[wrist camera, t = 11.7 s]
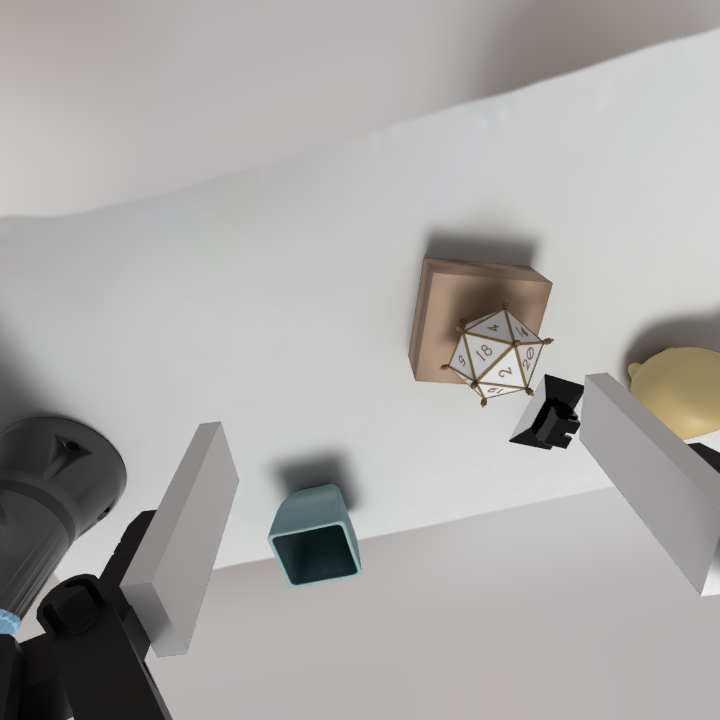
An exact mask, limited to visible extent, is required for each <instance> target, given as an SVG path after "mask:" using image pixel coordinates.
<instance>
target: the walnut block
mask: <svg viewBox="0 0 720 720" xmlns="http://www.w3.org/2000/svg"><path fill="white" fill-rule="evenodd" d="M552 284H553V283H552V282H550V281H549V280H548V279H546V278H545V277H543V276H542V275H541V274H539V273H538V272H536V271H535V270H534V269H532V268H531V267H525V266H513V265H502V264H490V263H479V262H467V261H456V260H445V259H433V258H424V259H423V266H422V272H421V278H420V285H419V291H418V298H417V304H416V310H415V317H414V323H413V330H412V336H411V343H410V349H409V355H408V357H409V360H410V364H411V367H412V371H413V374H414V378H415V381H424V382H438V383H453V384H467V383H466V382H465V381H463V380H462V379H461V378H460V377H459V376H458V375H457V374H456V373H454V372H453V371H452V370H451V369H450V368H448V369H447V370H446V369H445V370H442V369H439V368H440V367H441V366H442V364H443V365H445V364H449V361H450V359H451V357H452V354H453V352H454V349H455V347H456V344H457V342H458V339H459V337H460V334H461V333H460V334H459V332H457V329H456V327H459V326H461V327H462V328H463V327H464V325H462V324H461V323H460V318H461V319H465V320H466V322H467V323H468V322H471V321H473V320H475V319H478V318H480V317H483V316H485V315H488V314H490V313H493V312H495V311H498V310H500V309H502V308H503V303H502V302H504V301H505V300H506V299H508V303H509V304H508V307H507V310H508V311H509V312H510V313H511V314H513V315H514V316H515V317H516V318H517V319H518V320H519V321H521V322H522V323H523V324H524V325H525V326H526V327H527V328H529V329H530V330H531V331H532V332H533V333H534V334H535V335H537V336H538V333H539V330H540V326H541V323H542V319H543V316H544V312H545V309H546V305H547V302H548V298H549V295H550V291H551V288H552ZM467 385H468V384H467Z"/></svg>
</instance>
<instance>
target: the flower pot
mask: <svg viewBox="0 0 720 720" xmlns="http://www.w3.org/2000/svg"><path fill="white" fill-rule="evenodd" d="M268 542H269V544H270V546H271V548H272V550H273V552H274V554H275V556H276V559H277V561H278V563H279V565H280V567H281V569H282V572H283V574H284V576H285V578H286V581H287V583H288V584H289V586H290V587H291V588H296V587H303V586H308V585H312V584H318V583H322V582H327V581H333V580H338V579H344V578H349V577H355V576H358V575H361V574H362V570H361V563H360V557H359V551H358V544H357V539H356V535H355V532H354V529H353V526H352V523H351V521H350V518H349V515H348V512H347V509H346V506H345V503H344V500H343V497H342V494H341V492H340V490H339V488H338V487H337V486H336V485H334V484H326V485H322V486H317V487H313V488H308V489H303V490H298V491H296V492H295V493H293V494H292V495H290V496H289V497H288V498H286V499H285V501H284V502H283V503H282V504H281V506H280V507H279V509H278V511H277V514H276V516H275V519H274V522H273V524H272V527H271V530H270V533H269V535H268Z"/></svg>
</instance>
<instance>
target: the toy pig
mask: <svg viewBox="0 0 720 720" xmlns="http://www.w3.org/2000/svg"><path fill="white" fill-rule="evenodd" d="M628 372H629V375H630V377H631V379H632V382H631V386H630V392H629V393H630V394H632V395H633V396H634V397H635V398H636V399H637V400H638V401H639V402H640V403H642V404H643V405H644V406H645V407H646V408H647V409H648V410H649V411H650V412H652V413H653V414H654V415H655V416H656V417H657V418H658V419H659V420H660V421H661V422H663V423H664V424H665V425H666V426H667V427H668V428H669V429H670V430H671V431H673V432H674V433H675V434H676V435H677V436H678V437H679V438H680V439H681V440H686V439H691V438H695V437H698V436H702V435H705V434H708V433H711V432H714V431H717V430H720V353H718V352H715V351H712V350H708V349H704V348H698V347H680V348H675V347H668V348H666V349H665V350H664V351H663V352H660V353H658V354H656V355H654V356H652V357H651V358H649V359H648V360H647V361H646V362H645V363H643V364H639V363H636V362H635V363H632V364H630V365H629V367H628Z"/></svg>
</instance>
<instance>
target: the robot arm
mask: <svg viewBox="0 0 720 720" xmlns="http://www.w3.org/2000/svg"><path fill="white" fill-rule="evenodd" d="M579 439H580V441H581V442H582V443H583V445H584V446H585V447H586V448H587V450H588V451H589V452H590V454H591V455H592V456H593V458H594V459H595V460H596V461H597V463H598V464H599V465H600V467H601V468H602V469H603V470H604V472H605V473H606V474H607V476H608V477H609V478H610V479H611V481H612V482H613V483H614V485H615V486H616V487H617V489H618V490H619V491H620V492H621V494H622V495H623V496H624V498H625V499H626V500H627V501H628V503H629V504H630V505H631V507H632V508H633V509H634V510H635V512H636V513H637V514H638V516H639V517H640V518H641V519H642V521H643V522H644V523H645V525H646V526H647V527H648V528H649V530H650V531H651V532H652V534H653V535H654V536H655V538H656V539H657V540H658V541H659V543H660V544H661V545H662V547H663V548H664V549H665V551H666V552H667V553H668V554H669V556H670V557H671V558H672V560H673V561H674V562H675V563H676V565H677V566H678V567H679V569H680V570H681V571H682V573H683V574H684V575H685V576H686V578H687V579H688V580H689V581H690V583H691V584H692V585H693V587H694V588H695V589H696V591H697V592H698V593H699V594H700V596H708V595H717V594H720V453H719V452H717V451H715V450H713V449H711V448H709V447H707V446H705V445H703V444H701V443H692V444H686V443H685V442H684V441H683V440H681V439H680V438H679V437H678V436H677V435H676V434H675V433H674V432H673V431H671V430H670V429H669V428H668V427H667V426H666V425H665V424H664V423H663V422H661V421H660V420H659V419H658V418H657V417H656V416H655V415H654V414H653V413H652V412H650V411H649V410H648V409H647V408H646V407H645V406H644V405H643V404H642V403H640V402H639V401H638V400H637V399H636V398H635V397H634V396H633V395H632V394H630V393H629V392H628V391H627V390H626V389H625V388H624V387H623V386H622V385H620V384H619V383H618V382H617V381H616V380H615V379H614V378H613V377H612V376H611V375H609V374H608V373H599V374H592V375H585V384H584V394H583V404H582V413H581V423H580V433H579ZM238 482H239V478H238V475H237V472H236V469H235V466H234V462H233V459H232V456H231V453H230V450H229V447H228V443H227V440H226V437H225V434H224V431H223V428H222V424H221V421H220V422H212V423H204V424H200V425H199V427H198V429H197V431H196V433H195V435H194V437H193V439H192V441H191V443H190V445H189V447H188V449H187V451H186V453H185V455H184V457H183V459H182V461H181V463H180V465H179V467H178V469H177V471H176V473H175V475H174V477H173V479H172V481H171V483H170V485H169V487H168V489H167V491H166V493H165V495H164V497H163V499H162V501H161V503H160V505H159V507H158V509H157V510H150V511H142V512H141V513H140V514H139V515H138V516H137V517H136V518H135V519H134V520H133V521H132V522H131V523H130V524H129V525H128V527H127V529H126V531H125V532H124V534H123V536H122V538H121V542H120V543H118V545H117V547H116V549H115V551H114V555H112V556H111V558H110V560H109V562H108V563H107V565H106V567H105V569H104V571H103V572H102V574H101V576H100V578H99V579H98V578H97V577H96V576H95V575H91V574H81V575H76V576H73V577H71V578H69V579H67V580H65V581H63V582H61V583H60V584H59V585H57V586H56V587H55V588H53V589H52V590H51V591H50V592H49V593H48V594H47V595H46V596H45V597H44V598H43V600H42V601H41V603H40V605H39V607H38V609H37V617H36V618H37V620H38V622H39V623H40V624H41V626H42V627H43V629H44V630H45V632H46V633H44V634H42V635H39V636H37V637H34V638H32V639H29V640H27V641H24V642H22V643H18V642H17V641H16V639H15V638H14V637H13V636H12V635H13V634H14V633H15V632H16V631H17V630H18V629H19V627H20V624H21V621H22V619H23V618H24V616H25V615H26V613H27V612H28V610H29V609H30V607H31V606H32V604H33V603H34V601H35V599H36V598H37V596H38V595H39V594H40V592H41V590H42V589H43V587H44V586H45V584H46V583H47V581H48V580H49V578H50V577H51V575H52V574H53V572H54V571H55V569H56V568H57V566H58V564H59V563H60V561H61V560H62V558H63V557H64V555H65V554H66V552H67V551H68V549H69V548H70V546H71V545H72V543H73V542H74V541H75V540H76V539H78V538H79V537H80V536H81V535H83V534H84V533H85V532H87V531H88V530H89V529H90V528H92V527H93V526H94V525H96V524H97V523H98V522H99V521H101V520H102V519H103V518H104V517H106V516H107V515H108V514H109V513H110V512H111V511H112V509H113V508H114V507H115V505H116V504H117V502H118V500H119V499H120V497H121V496H122V494H123V492H124V489H125V486H126V471H125V467H124V464H123V462H122V460H121V458H120V456H119V455H118V453H117V452H116V450H115V449H114V448H113V447H112V446H111V445H110V444H109V443H108V442H107V441H106V440H105V439H104V438H103V437H101V436H100V435H99V434H97V433H96V432H94V431H92V430H91V429H89V428H87V427H85V426H83V425H80V424H78V423H75V422H72V421H69V420H65V419H60V418H53V417H36V418H29V419H25V420H22V421H19V422H17V423H15V424H13V425H11V426H10V427H8V428H7V429H6V430H5V431H4V432H3V433H1V434H0V720H67V719H69V718H71V717H74V720H173V719H172V717H171V715H170V713H169V711H168V709H167V707H166V705H165V703H164V700H163V698H162V696H161V694H160V692H159V690H158V688H157V686H156V683H155V681H154V679H153V677H152V675H151V673H150V671H149V669H148V666H147V665H146V663H145V661H144V659H145V657H146V654H147V651H148V649H149V646H150V644H151V646H152V648H153V650H154V652H155V654H156V655H157V657H166V656H174V655H184V654H187V651H188V648H189V645H190V641H191V638H192V635H193V631H194V628H195V625H196V621H197V618H198V615H199V611H200V608H201V605H202V602H203V598H204V594H205V592H206V588H207V585H208V582H209V578H210V575H211V572H212V569H213V565H214V562H215V559H216V555H217V552H218V549H219V545H220V542H221V539H222V535H223V532H224V529H225V525H226V522H227V519H228V516H229V512H230V509H231V506H232V502H233V499H234V496H235V492H236V489H237V486H238Z"/></svg>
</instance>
